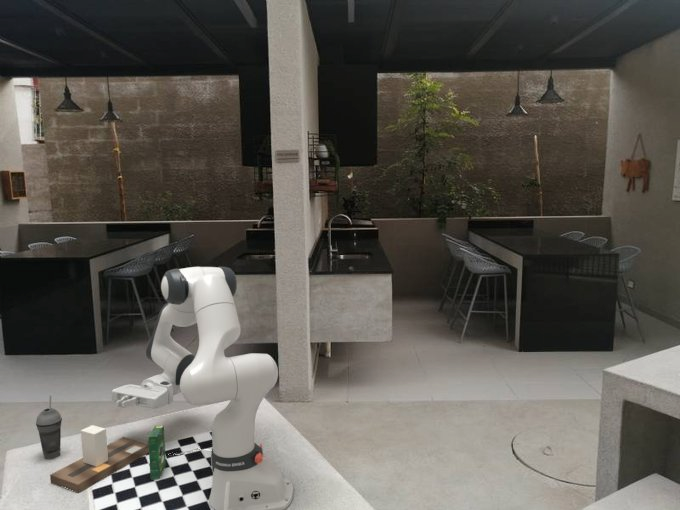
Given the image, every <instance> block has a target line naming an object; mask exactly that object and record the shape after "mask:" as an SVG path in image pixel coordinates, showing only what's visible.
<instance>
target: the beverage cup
mask: <svg viewBox="0 0 680 510" xmlns="http://www.w3.org/2000/svg"><path fill="white" fill-rule="evenodd" d="M48 401H49V403H48V405H49V406H48V408H44V409H42V410H41V412H39V414H38V415H37V417H36V423H35V426H36V428H37V431H38V436H39V440H40V445H41V450H42V454H43V458H44V460H49V461H51V460H54V459H57V458H58V457H60V456H61V443H62V442H61V440H62V439H61V437H62V436H61V433H62V431H61V427H62V421H63V419H62V418H63V417H62V415H61V413H60V412H59V411H58V410H57V409H55V408H52V395H49V399H48Z"/></svg>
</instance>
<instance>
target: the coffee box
mask: <svg viewBox="0 0 680 510" xmlns="http://www.w3.org/2000/svg"><path fill="white" fill-rule="evenodd" d="M164 428H165V427H164V425H162V424H160V425H154V426H153V428H152V429H151V431H150V433H149V434H148V436H147V443H148V446H149V453H148V458H149V475H150V480H153V481H154V480H159V479H161V477H162V474H163V473H164V471H165V469H166V467H167V460H166V459H167V456H166V441H165V430H164Z"/></svg>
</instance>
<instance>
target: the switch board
mask: <svg viewBox="0 0 680 510" xmlns="http://www.w3.org/2000/svg"><path fill="white" fill-rule="evenodd" d="M107 449H108V461H106V462H105V463H103V464H101V465H99V466H97V467H96V466H93V465H90V464H87V463H84V462H83V457H81V458H79V459H78V460H76V461H75V462H72V463H70V464H68V465H67V466H65V467H63V468H61V469H58V470H57V471H54V472H53V473H51V474H49V477H50V478H49V479H50V484H52V483H54V484H53V485H55V484H57V485H56V486H58V485H60V486H59V487H61V486H63V487H66V488H68V489H67V490H69V489H71V490H70V491H72V490H73V491H72V492H74V491H76V492H75V493H77V492H80V493H82V492H83V491H85V490H87V489H88V488H89V487H91V486H93V485H96V484H97V483H99V482H101V481H102V480H104V479H105V478H107V477H109V476H110V475H113V474H114V473H115V472H117V470H118V471H119V470H121V469H123V468H125V467H126V466H128V465H130V464H131V463H133V462H135V461H137V460H139V459H140V458H141V457H143V456H145V455H147V454H149V446H148V442H144V441H140V440H136V439H133V438H129V437H126V436H122V437H120V438H119V439H117V440H115V441H113V442H111V443H109V444H107ZM63 487H62V488H63ZM66 488H65V489H66Z"/></svg>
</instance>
